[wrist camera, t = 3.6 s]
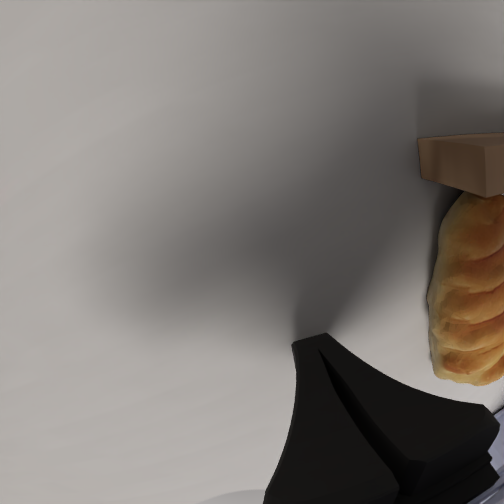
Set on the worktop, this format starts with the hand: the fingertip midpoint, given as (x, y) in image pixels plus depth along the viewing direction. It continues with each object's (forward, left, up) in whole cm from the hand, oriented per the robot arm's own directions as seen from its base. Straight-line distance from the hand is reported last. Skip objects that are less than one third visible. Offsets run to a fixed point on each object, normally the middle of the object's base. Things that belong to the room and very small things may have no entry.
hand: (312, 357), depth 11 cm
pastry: (-1, -9, -2) cm, 9 cm away
